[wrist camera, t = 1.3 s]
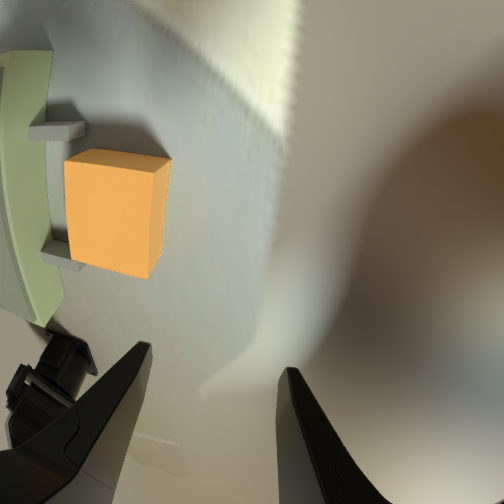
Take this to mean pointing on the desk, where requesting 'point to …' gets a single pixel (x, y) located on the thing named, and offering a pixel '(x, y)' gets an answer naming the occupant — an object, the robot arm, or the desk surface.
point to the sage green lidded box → (29, 189)
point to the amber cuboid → (116, 209)
